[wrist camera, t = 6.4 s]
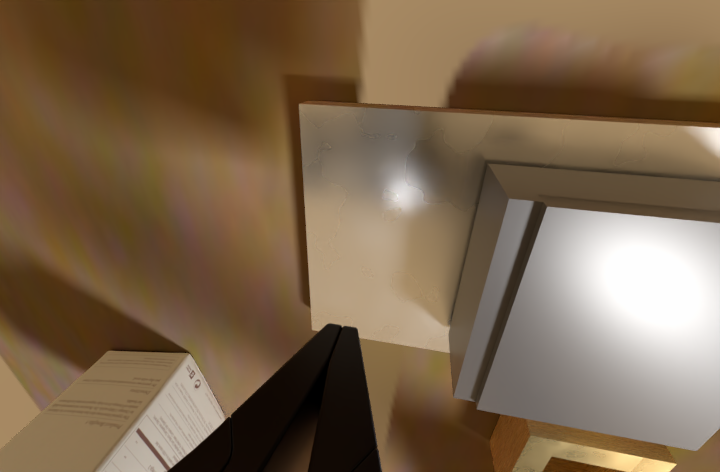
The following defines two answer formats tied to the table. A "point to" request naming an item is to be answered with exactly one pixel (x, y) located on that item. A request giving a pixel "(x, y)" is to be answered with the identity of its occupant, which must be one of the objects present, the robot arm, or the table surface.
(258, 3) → the table surface
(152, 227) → the table surface
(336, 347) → the robot arm
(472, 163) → the pin plate
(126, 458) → the supplement box
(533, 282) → the box
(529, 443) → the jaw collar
